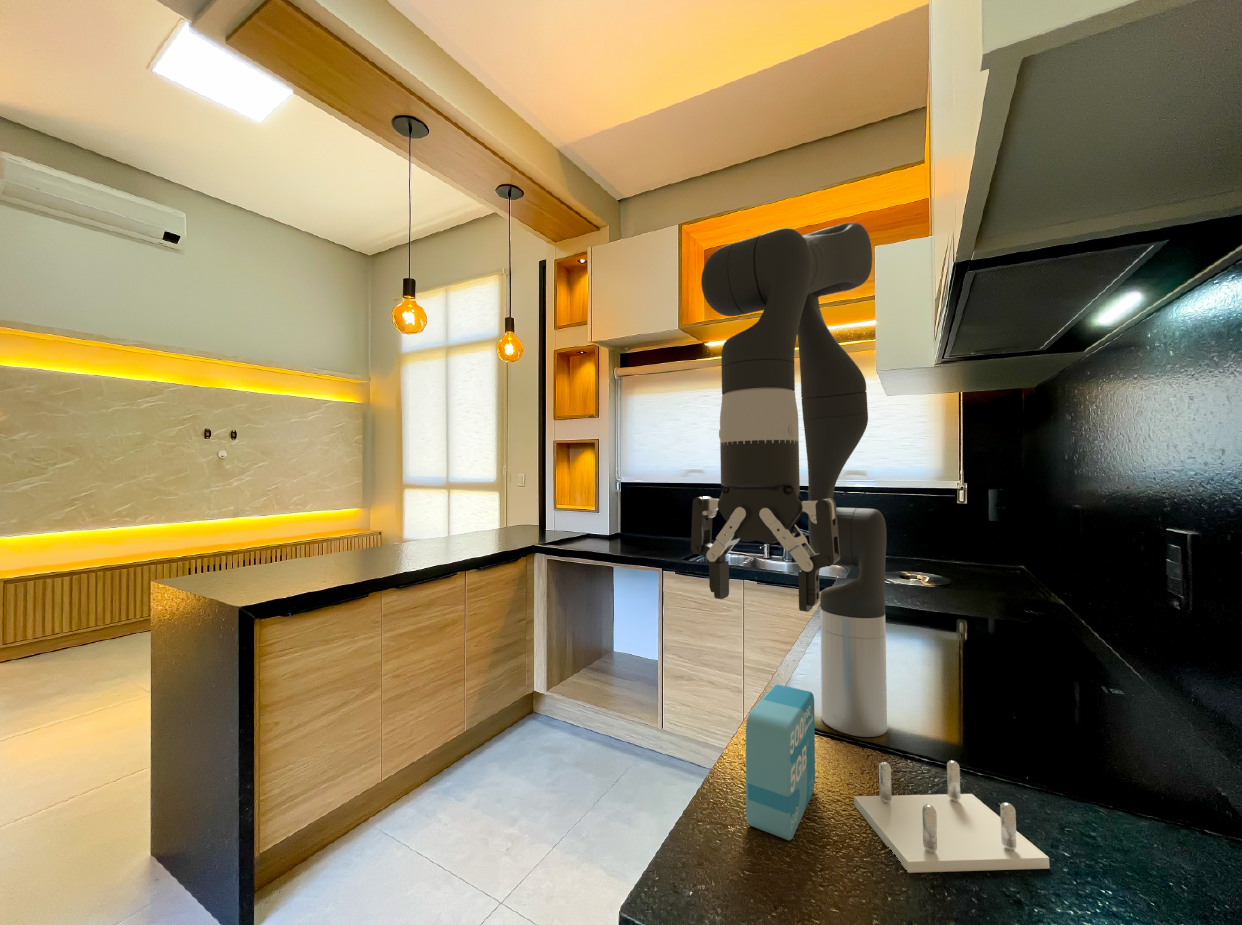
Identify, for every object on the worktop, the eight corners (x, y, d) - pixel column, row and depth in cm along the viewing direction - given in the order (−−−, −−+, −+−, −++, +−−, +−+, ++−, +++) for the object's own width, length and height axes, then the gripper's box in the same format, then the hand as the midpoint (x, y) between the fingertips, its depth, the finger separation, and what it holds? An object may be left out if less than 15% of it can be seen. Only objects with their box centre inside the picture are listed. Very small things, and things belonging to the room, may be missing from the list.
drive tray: (854, 805, 57) (854, 796, 58) (971, 802, 58) (971, 793, 58) (908, 872, 47) (907, 861, 48) (1049, 868, 48) (1049, 857, 48)
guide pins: (877, 799, 57) (876, 759, 57) (955, 797, 57) (954, 758, 58) (928, 856, 48) (927, 809, 48) (1019, 853, 49) (1018, 807, 49)
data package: (788, 848, 51) (787, 727, 51) (745, 831, 53) (745, 715, 54) (815, 788, 61) (814, 688, 61) (778, 776, 63) (777, 680, 64)
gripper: (844, 437, 48) (847, 605, 48) (709, 443, 57) (712, 587, 57) (823, 433, 42) (827, 625, 42) (677, 441, 51) (679, 601, 50)
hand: (761, 603), depth 49 cm, fingers open, 8 cm apart
